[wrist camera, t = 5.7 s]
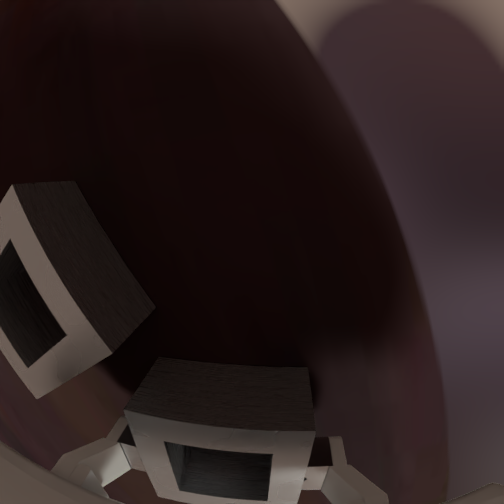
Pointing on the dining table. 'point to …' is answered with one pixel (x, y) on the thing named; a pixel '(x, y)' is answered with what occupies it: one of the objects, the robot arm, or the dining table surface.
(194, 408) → the end link
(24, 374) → the white square box
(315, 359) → the dining table surface
